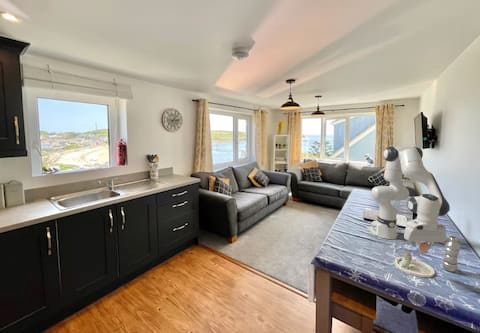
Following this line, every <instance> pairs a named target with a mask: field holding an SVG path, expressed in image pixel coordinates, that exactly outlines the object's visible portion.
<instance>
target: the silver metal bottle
mask: <svg viewBox="0 0 480 333" xmlns="http://www.w3.org/2000/svg"><path fill="white" fill-rule="evenodd" d="M458 242H459V237H456V236H453V235H449V238H448V240H447V241H446V243H445V244H444V249H445V252H444V253H445V254H444V258H443V261H442V263H441V265H442V268H443V269H444V270H446V271H447V272H451V273H456V271H458V257H459V254H460V252H461V245H460V244H459V243H458Z"/></svg>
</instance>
